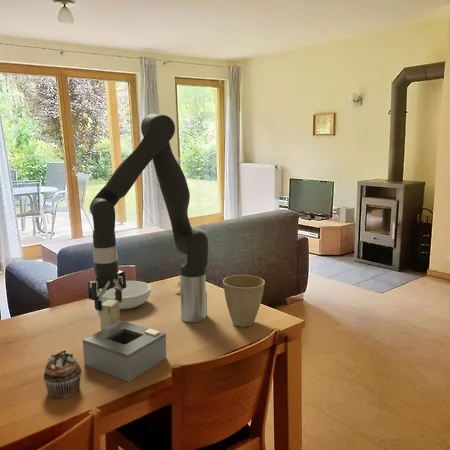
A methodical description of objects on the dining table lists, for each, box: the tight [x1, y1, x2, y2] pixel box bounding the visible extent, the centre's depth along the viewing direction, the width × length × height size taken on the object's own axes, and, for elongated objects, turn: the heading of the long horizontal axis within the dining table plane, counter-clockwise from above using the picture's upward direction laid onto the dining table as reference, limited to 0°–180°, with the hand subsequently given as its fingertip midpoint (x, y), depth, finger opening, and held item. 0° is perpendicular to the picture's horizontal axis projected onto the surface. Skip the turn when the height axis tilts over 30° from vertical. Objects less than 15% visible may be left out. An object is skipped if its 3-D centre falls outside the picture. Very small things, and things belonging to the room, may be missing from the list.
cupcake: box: [42, 350, 83, 399], centre depth 118 cm, size 10×10×10 cm
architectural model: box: [172, 276, 181, 292], centre depth 192 cm, size 3×7×7 cm, turn 54°
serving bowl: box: [98, 280, 152, 310], centre depth 178 cm, size 21×21×7 cm
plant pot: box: [222, 274, 266, 328], centre depth 160 cm, size 15×15×16 cm
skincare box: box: [99, 300, 121, 331], centre depth 149 cm, size 6×4×12 cm
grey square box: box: [82, 320, 167, 383], centre depth 133 cm, size 16×18×9 cm
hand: (109, 306), depth 148 cm, fingers open, 8 cm apart
